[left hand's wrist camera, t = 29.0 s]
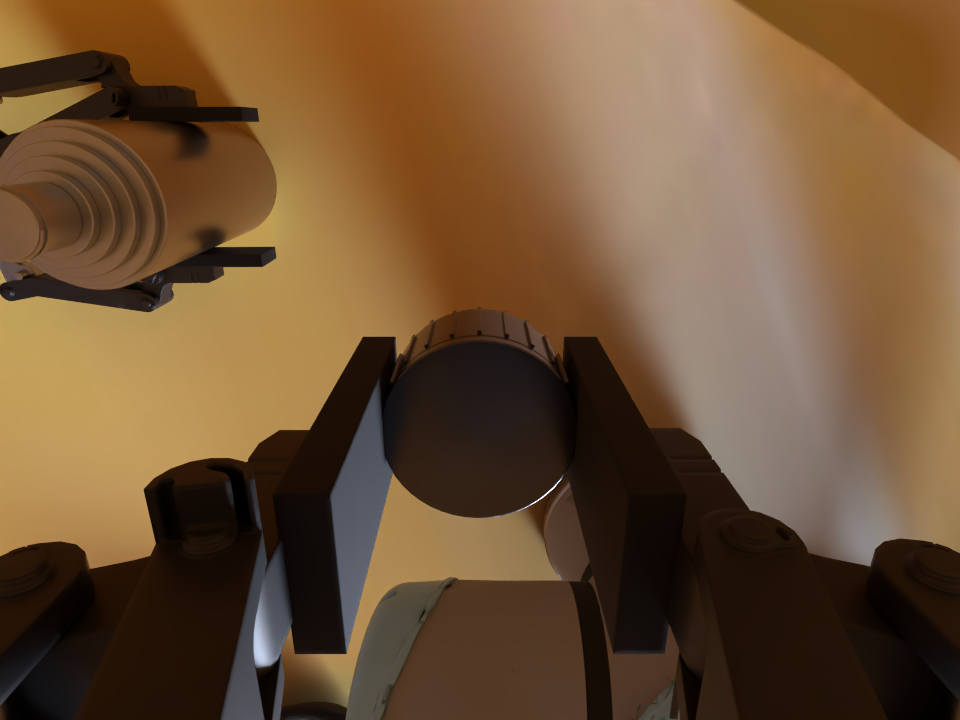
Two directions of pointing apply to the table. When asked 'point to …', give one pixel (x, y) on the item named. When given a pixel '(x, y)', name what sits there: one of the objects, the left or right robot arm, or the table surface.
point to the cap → (479, 415)
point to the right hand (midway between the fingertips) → (259, 188)
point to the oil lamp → (314, 711)
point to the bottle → (127, 196)
